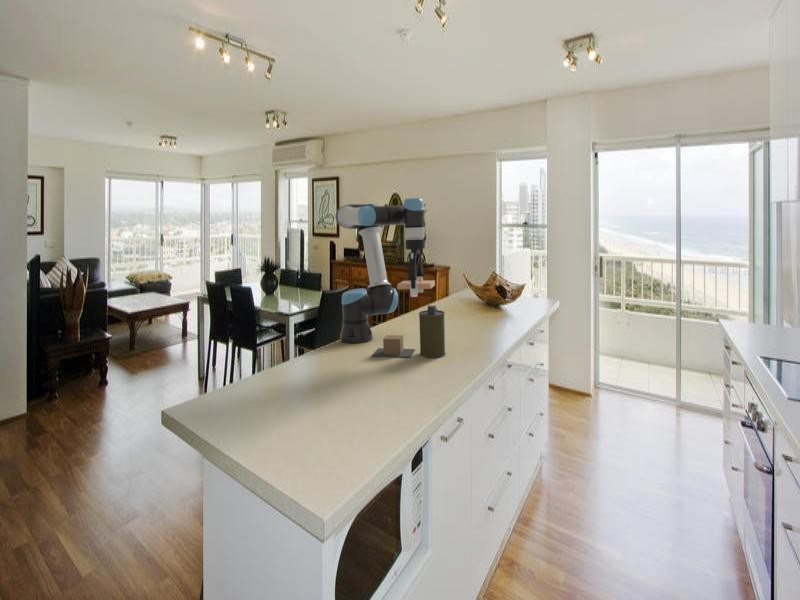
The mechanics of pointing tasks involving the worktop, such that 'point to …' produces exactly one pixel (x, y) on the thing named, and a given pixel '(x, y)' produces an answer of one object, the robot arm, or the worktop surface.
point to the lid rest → (393, 348)
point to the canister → (432, 333)
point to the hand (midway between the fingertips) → (417, 294)
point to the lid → (420, 284)
